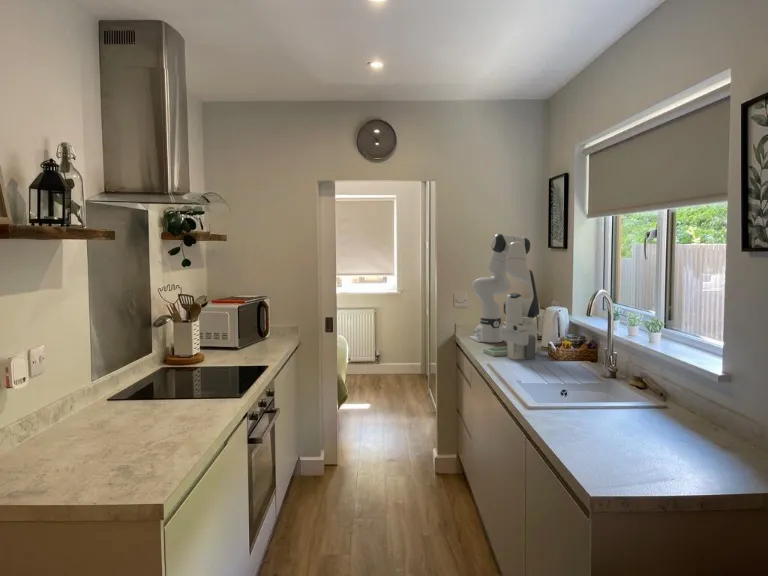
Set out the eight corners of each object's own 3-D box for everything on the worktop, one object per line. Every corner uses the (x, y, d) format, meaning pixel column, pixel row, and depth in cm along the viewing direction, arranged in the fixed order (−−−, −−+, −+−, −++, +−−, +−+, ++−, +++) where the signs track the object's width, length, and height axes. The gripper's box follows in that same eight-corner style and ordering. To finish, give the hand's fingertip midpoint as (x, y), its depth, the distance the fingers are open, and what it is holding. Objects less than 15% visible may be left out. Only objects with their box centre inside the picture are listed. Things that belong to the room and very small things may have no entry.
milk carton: (518, 351, 303) (518, 317, 302) (528, 350, 306) (528, 316, 305) (526, 353, 297) (527, 319, 295) (536, 352, 300) (537, 318, 298)
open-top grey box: (514, 355, 292) (515, 333, 291) (524, 354, 294) (524, 332, 293) (525, 359, 283) (525, 336, 282) (535, 358, 286) (535, 335, 285)
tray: (483, 352, 301) (483, 348, 301) (507, 350, 307) (507, 346, 307) (494, 356, 291) (494, 352, 291) (519, 354, 297) (519, 349, 296)
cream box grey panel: (507, 357, 288) (507, 339, 287) (523, 356, 292) (523, 337, 291) (513, 359, 283) (513, 340, 282) (529, 357, 287) (529, 339, 286)
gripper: (497, 322, 293) (497, 348, 295) (520, 328, 274) (520, 355, 276) (507, 321, 296) (507, 347, 297) (530, 327, 277) (530, 354, 278)
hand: (513, 351), depth 286 cm, fingers closed on cream box grey panel, 5 cm apart
